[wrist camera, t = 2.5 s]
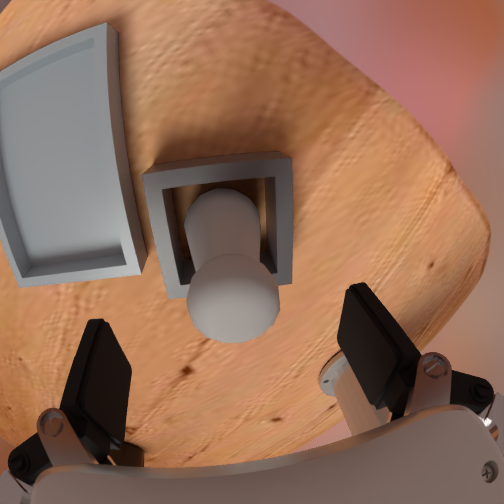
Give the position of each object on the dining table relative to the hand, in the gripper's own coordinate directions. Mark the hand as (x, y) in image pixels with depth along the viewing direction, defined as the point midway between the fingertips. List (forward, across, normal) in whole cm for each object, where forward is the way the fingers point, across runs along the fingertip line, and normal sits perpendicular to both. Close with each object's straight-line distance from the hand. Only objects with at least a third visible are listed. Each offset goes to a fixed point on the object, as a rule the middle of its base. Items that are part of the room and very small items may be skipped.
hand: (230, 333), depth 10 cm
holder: (+14, -1, +1) cm, 14 cm away
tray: (+15, +13, -6) cm, 21 cm away
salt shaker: (+15, -1, +1) cm, 15 cm away
